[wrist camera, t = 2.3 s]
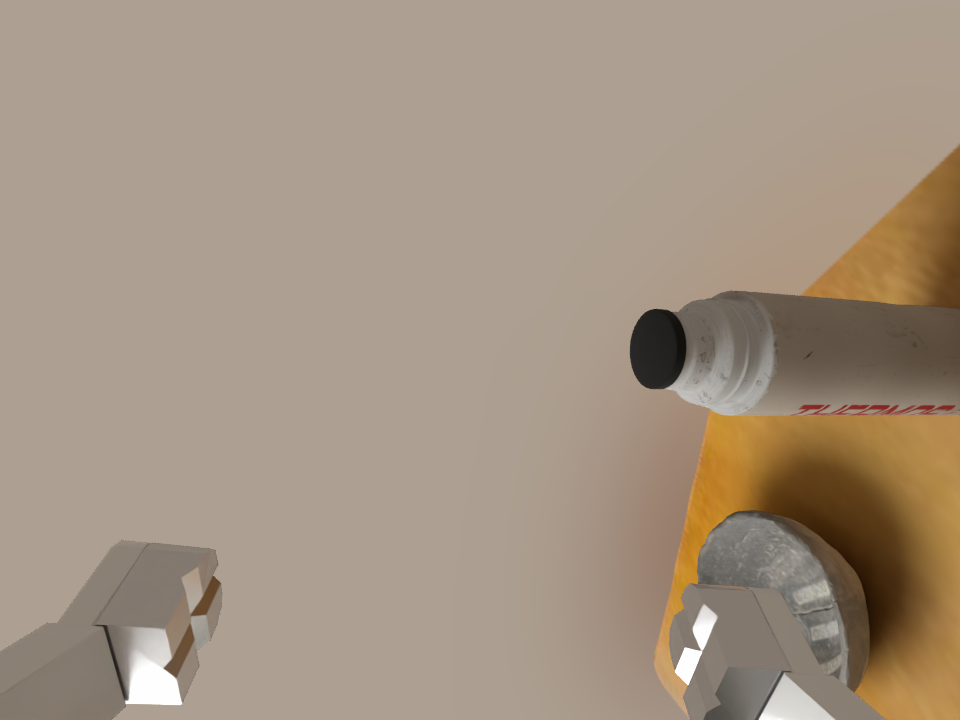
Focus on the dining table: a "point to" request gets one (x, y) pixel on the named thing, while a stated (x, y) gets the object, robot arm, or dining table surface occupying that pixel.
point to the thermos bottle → (802, 355)
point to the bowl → (795, 584)
